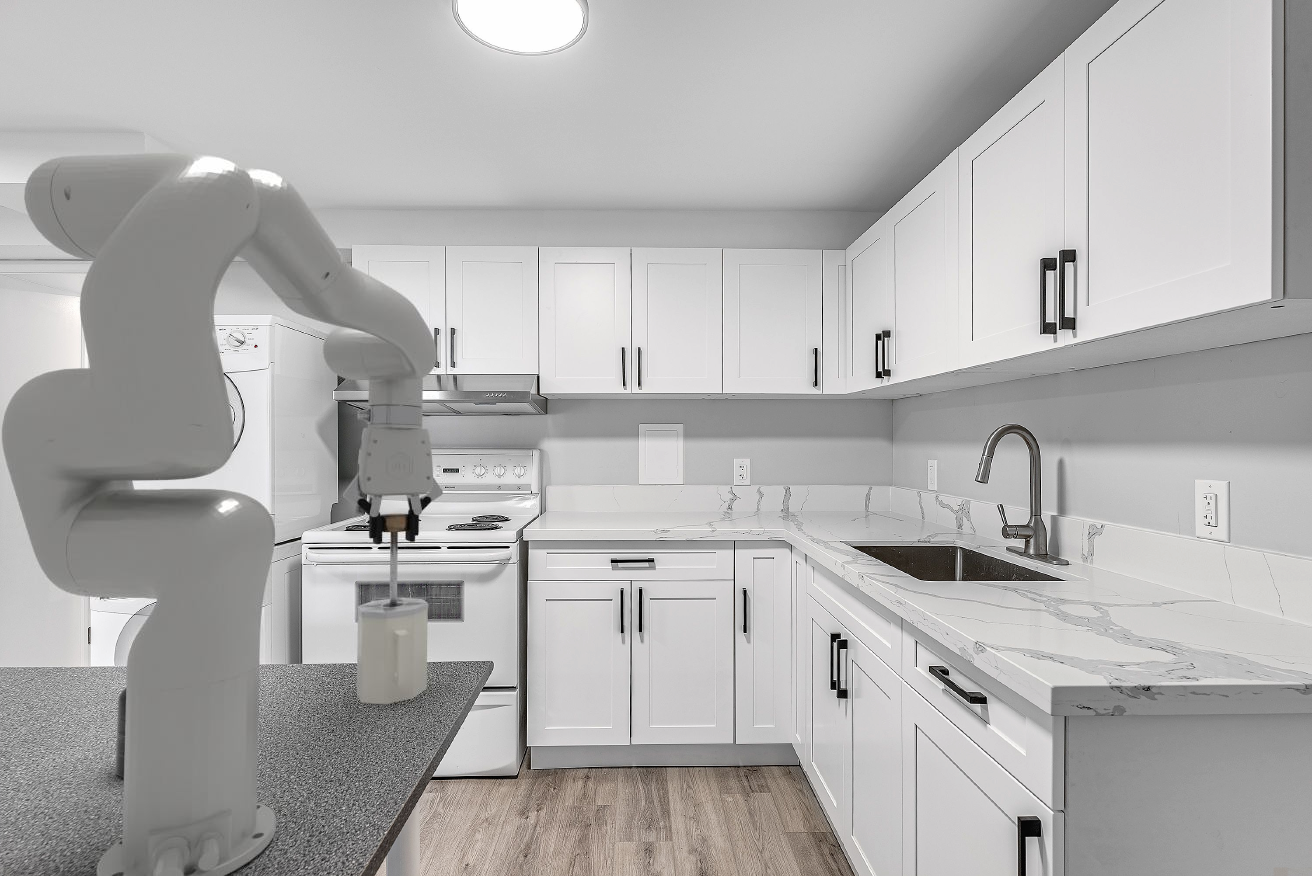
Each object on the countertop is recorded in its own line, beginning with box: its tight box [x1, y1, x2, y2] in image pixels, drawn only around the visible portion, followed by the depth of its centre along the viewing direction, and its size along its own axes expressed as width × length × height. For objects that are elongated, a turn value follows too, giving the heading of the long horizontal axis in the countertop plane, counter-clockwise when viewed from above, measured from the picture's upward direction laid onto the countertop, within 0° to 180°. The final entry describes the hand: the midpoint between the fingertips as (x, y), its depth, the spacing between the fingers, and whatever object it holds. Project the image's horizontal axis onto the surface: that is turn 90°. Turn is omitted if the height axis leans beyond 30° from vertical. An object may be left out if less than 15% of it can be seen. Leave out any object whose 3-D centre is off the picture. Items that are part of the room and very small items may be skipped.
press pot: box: [356, 597, 429, 705], centre depth 93 cm, size 12×9×13 cm
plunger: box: [380, 513, 409, 607], centre depth 95 cm, size 4×4×17 cm
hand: (394, 540), depth 95 cm, fingers closed on plunger, 4 cm apart
